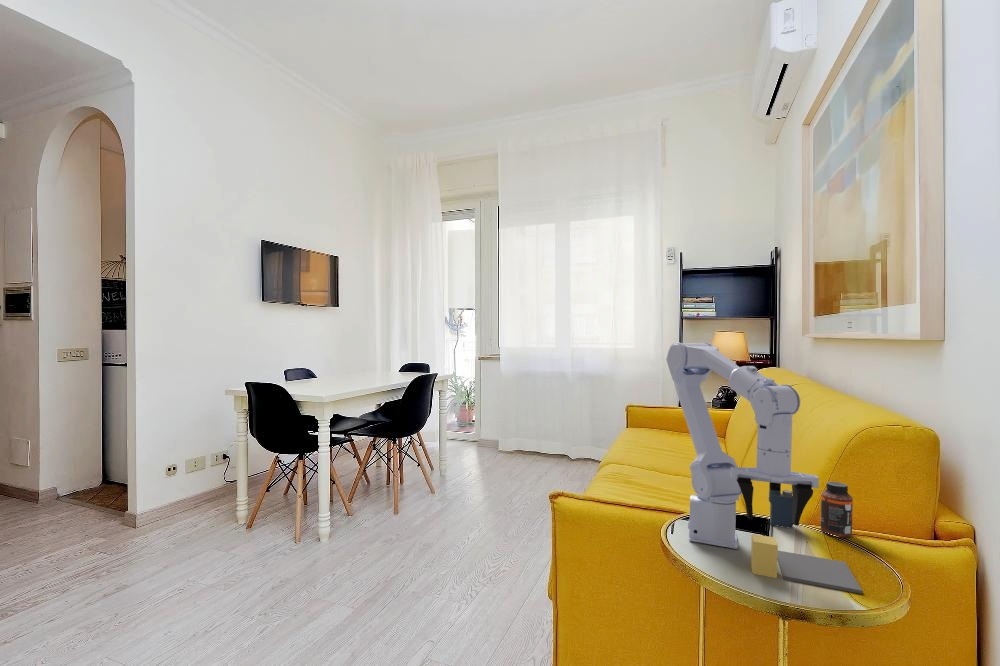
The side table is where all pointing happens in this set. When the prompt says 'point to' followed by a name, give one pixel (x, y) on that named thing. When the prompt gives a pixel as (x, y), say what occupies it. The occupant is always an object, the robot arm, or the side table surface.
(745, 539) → the side table surface
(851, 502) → the supplement bottle
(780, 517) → the vaping device
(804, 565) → the charcoal mat
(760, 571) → the mustard block
